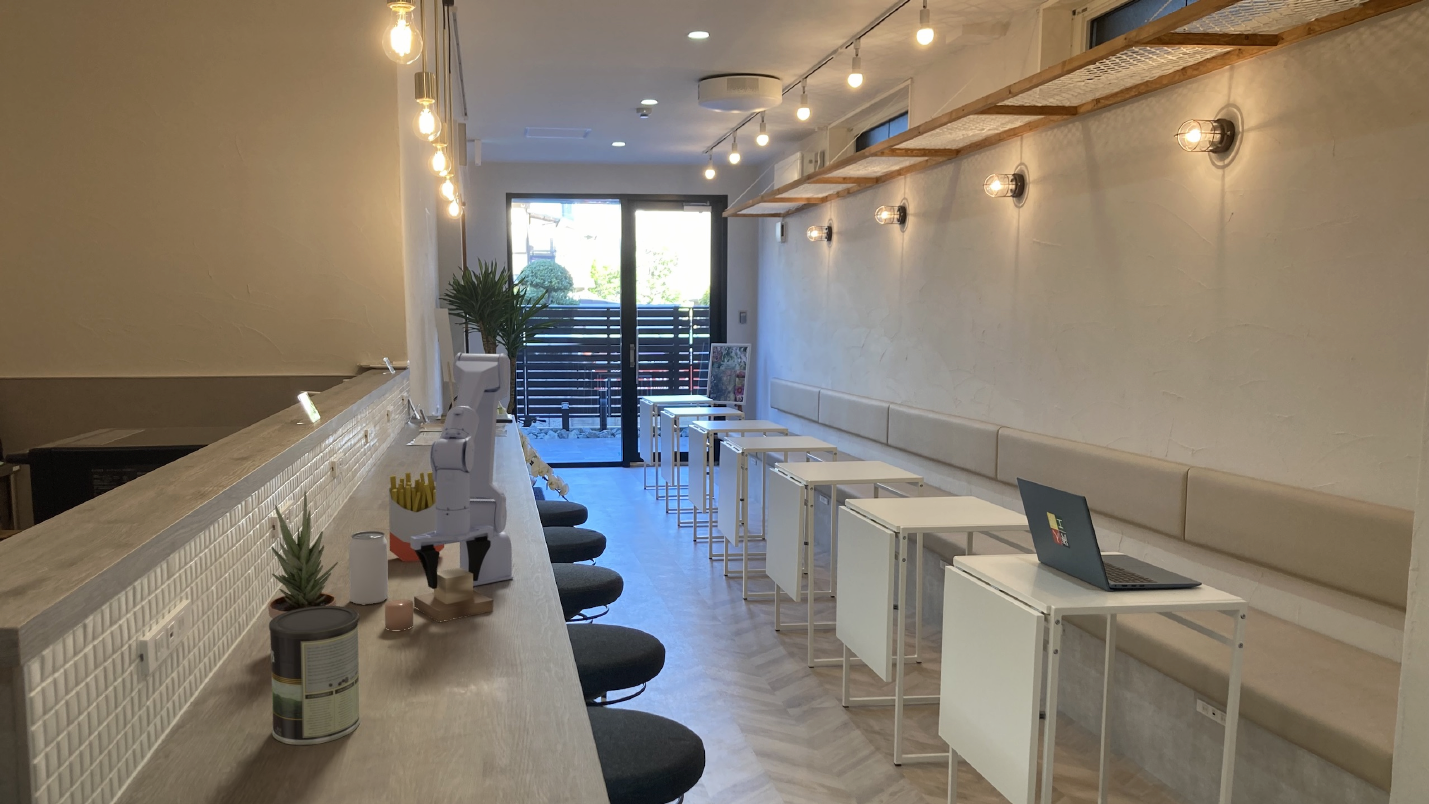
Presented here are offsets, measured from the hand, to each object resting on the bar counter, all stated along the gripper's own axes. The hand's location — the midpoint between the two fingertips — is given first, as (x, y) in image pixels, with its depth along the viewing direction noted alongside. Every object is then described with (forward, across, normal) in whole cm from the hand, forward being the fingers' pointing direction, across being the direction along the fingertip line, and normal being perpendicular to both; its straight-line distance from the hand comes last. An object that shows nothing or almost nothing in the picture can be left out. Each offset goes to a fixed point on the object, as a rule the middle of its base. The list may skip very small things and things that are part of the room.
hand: (453, 583), depth 165 cm
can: (+5, -10, +14) cm, 18 cm away
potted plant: (+5, -26, -3) cm, 27 cm away
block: (+3, 0, 0) cm, 3 cm away
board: (+5, 0, 0) cm, 5 cm away
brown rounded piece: (+5, -11, -3) cm, 12 cm away
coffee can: (+5, -34, -33) cm, 48 cm away
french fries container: (+5, +9, +36) cm, 37 cm away
